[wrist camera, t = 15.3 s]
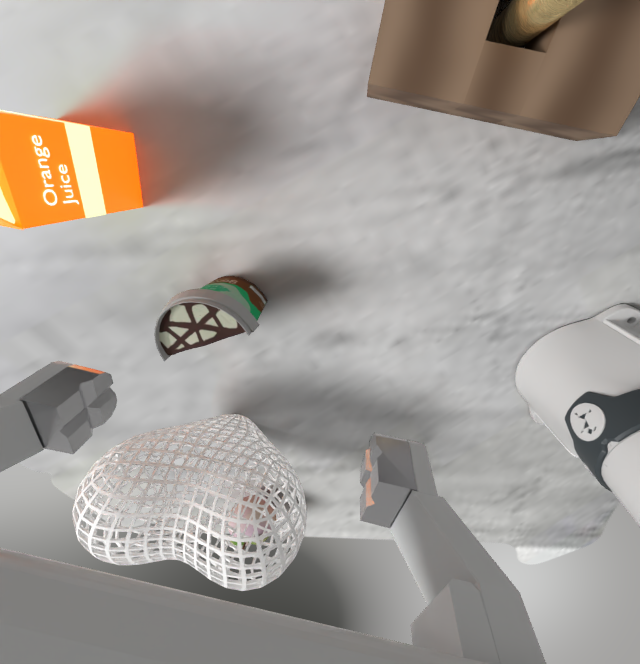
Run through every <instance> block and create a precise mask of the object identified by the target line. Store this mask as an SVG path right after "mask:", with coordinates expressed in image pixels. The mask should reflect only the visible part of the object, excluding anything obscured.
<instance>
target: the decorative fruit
mask: <svg viewBox="0 0 640 664" xmlns="http://www.w3.org/2000/svg"><path fill="white" fill-rule="evenodd" d="M249 497H250V496H248V497H244V498H243V501H248V499H249ZM263 497H264V496H263ZM254 498H255V495H254V496H252V498H251V500H250V502H251V503H253V501H254ZM259 498H260V497H257V500H256V503H255V504H257V502H258V500H259ZM265 498H266V497H265ZM266 499H267V498H266ZM265 503H266V501H264V500H263V499H261V501H260V503H259V504H260V505H264V504H265ZM238 505H239V504H238ZM238 505H237V507H236V509H235V511H234V513H236V514H237V513H238ZM234 506H235V505H234ZM244 507H245V505H242V507H241V514H242V512H243V510H244ZM233 508H234V507H233ZM233 508H232V510H233ZM257 508H258V509H260V510H261V511H263V510H264V508H261V507H257ZM232 510H231V512H232ZM267 510H268V512H269V514H271V513H272V512H273V511H274V509H273V508H272V507H271V506H270V505H269V506H268V507H267ZM251 514H252V508H249V507H247V508H246V510H245V512H244V514H243V517H244V518H246V519H248V520H249V518H250V516H251ZM260 515H261V513H259V512H258V511H256V510H255V517H256V520H257V519H259V517H260ZM229 517H230V514H229ZM232 518H236V519H237V517H235V516H233V515H232ZM262 518H265V516H264V515H263V516H262ZM272 519H273V520H274V521H276V514H275V515H274V516H273V517H272ZM251 520H253V517H252V519H251ZM266 523H267V521H263V522H260V523H259V525H260V526H262V527H264V528H265V526H266ZM236 524H237V523H234V522H230V521H229V523H228V525H229V526H231V527H233V528H235V526H236ZM256 524H257V523H256ZM273 524H274V523H273ZM246 525H247V524H241V523H240V529H241V533H243V531H244V529H245V527H246ZM267 529H270V530H271V527H270V524H268V527H267ZM228 530H229V529H228ZM236 530H237V529H236ZM253 531H254V528H253V525H251V524H249V525H248V527H247V530H246V532H245V535H247V536H249V537H251V536H252V534H253ZM257 531H258V536H260V535H262V534H263V531H264V530H262V529H260V528H257ZM229 532H230V534H232V532H233V531H231V530H229ZM266 533H267V531H266ZM233 536H234V537H237V534H236V533H234V535H233ZM254 537H255V535H254ZM267 538H269V536H268V537H266V538H264V539H263V542H264V541H266V540H267ZM230 542H231V543H232V544H234V545H236V546H237V542H235V541H230ZM241 543H242V545H243V548H242V549H243V550H244V547H245V546H246V545H248V543H249V542H241ZM251 544H255V545H257V544H256V543H255V542H251Z"/></svg>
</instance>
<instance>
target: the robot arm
mask: <svg viewBox="0 0 640 664" xmlns="http://www.w3.org/2000/svg"><path fill="white" fill-rule="evenodd" d="M629 318H630V319H629ZM628 319H629V320H628ZM515 382H516V387H517V389H518V392H519V393H520V395H521V396H522V397H523V398H524V399H525V400H526V402H527V403H528V404H529V410H530V415H531V417H532V418H533V419H534V421H535V422H536V423H538V424H544V425H546V426H547V427H548V429H549V430H550V431H551V432H552V433H553V434H554V435H555V437H556V438H557V439H558V440H559V441H560V442H561V443H562V444H563V446H564V447H565V448H566V449H567V450H568V451H569V452H570V453H571V454H572V455H573V456H575V457H577V458H579V457H580V459H581V460H582V461H583V463H584V465H585V467H586V468H587V469H588V471H589V472H590V473H591V474H592V475H593V476H594V477H595V478H596V479H597V480H598V481H599V482H600V484H601V485H602V486H604V487H605V488H606V489H608V490H609V491H611V492H613V493H614V495H615V496H616V497H617V498H618V500H619V501H620V502H621V504H622V505H623V506H624V507H625V508H626V510H627V511H628V513H629V514H630V515H631V516H632V518H633V519H634V520H635V521H636V523H637V524H638V525H639V527H640V310H638V309H636V308H634V307H632V306H629V305H627V304H619V305H616V306H613V307H611V308H609V309H607V310H605V311H604V312H602V313H600V314H598V315H597V316H595V317H593V318H590V319H587V320H584V321H580V322H576V323H573V324H569V325H566V326H564V327H561V328H559V329H557V330H554V331H552V332H551V333H549V334H547V335H545V336H544V337H542V338H541V339H540V340H538V341H537V342H536V343H535V344H534V345H532V346H531V347H530V348H529V349H528V351H527V352H526V353H525V354H524V356H523V357H522V359H521V360H520V362H519V364H518V367H517V370H516V375H515ZM112 384H113V380H112V376H111V374H109V373H106V372H102V371H99V370H95V369H91V368H87V367H83V366H79V365H74V364H70V363H66V362H62V361H56V362H52V363H50V364H48V365H47V366H45V367H43V368H42V369H40V370H39V371H37V372H35V373H34V374H32V375H31V376H29V377H27V378H26V379H24V380H23V381H21V382H19V383H18V384H16V385H15V386H13V387H11V388H10V389H8V390H7V391H5V392H3V393H2V394H0V472H1V471H3V470H5V469H7V468H9V467H11V466H13V465H15V464H17V463H19V462H21V461H23V460H25V459H27V458H29V457H31V456H33V455H35V454H37V453H39V452H41V451H42V450H44V449H43V448H45V449H50V450H55V451H60V452H65V453H70V454H74V453H75V452H76V451H77V450H78V449H79V448H80V447H81V446H82V445H83V444H84V443H85V442H86V441H87V440H88V439H89V438H90V437H91V436H92V433H93V428H96V427H98V426H100V425H103V424H104V423H105V422H106V421H107V420H108V419H109V418H110V417H111V416H112V414H113V412H114V410H115V408H116V403H117V398H116V394H115V393H114V391H113V390H112V389H111V388H110V386H111V385H112ZM369 444H370V449H368V450H366V451H365V454H364V457H363V460H362V465H361V474H360V483H361V485H362V486H363V488H364V490H363V492H362V494H361V497H360V521H364V522H368V523H372V524H376V525H380V526H383V527H387V528H390V532H391V534H392V536H393V538H394V540H395V541H396V544H397V546H398V548H399V550H400V551H401V553H402V555H403V557H404V559H405V561H406V563H407V565H408V567H409V569H410V571H411V573H412V575H413V577H414V579H415V581H416V583H417V585H418V587H419V589H420V591H421V593H422V595H423V597H424V599H425V601H426V603H427V605H428V606H427V607H426V608H425V610H424V611H423V612H422V613H421V614H420V615H419V616H418V617H417V618H416V619H415V620H414V622H413V623H412V624H411V633H412V642H413V645H409V644H405V643H401V642H397V641H393V640H388V639H384V638H380V637H376V636H371V635H367V634H363V633H359V632H354V631H350V630H346V629H342V628H338V627H333V626H329V625H325V624H321V623H317V622H312V621H308V620H304V619H300V618H295V617H291V616H287V615H283V614H278V613H274V612H270V611H266V610H261V609H257V608H253V607H249V606H245V605H241V604H236V603H232V602H227V601H224V600H219V599H215V598H211V597H207V596H203V595H198V594H194V593H190V592H186V591H181V590H177V589H173V588H169V587H165V586H160V585H156V584H151V583H148V582H143V581H139V580H134V579H131V578H127V577H122V576H118V575H114V574H109V573H105V572H101V571H97V570H93V569H88V568H84V567H80V566H76V565H72V564H67V563H63V562H59V561H55V560H50V559H46V558H42V557H38V556H34V555H29V554H25V553H20V552H17V551H12V550H8V549H3V548H0V664H546V662H545V659H544V657H543V654H542V652H541V649H540V646H539V643H538V641H537V638H536V635H535V633H534V630H533V628H532V624H531V622H530V620H529V616H528V614H527V611H526V608H525V606H524V603H523V600H522V598H521V595H520V593H519V591H518V590H517V589H516V587H515V586H514V585H513V584H512V582H511V581H510V580H509V579H508V577H507V576H506V575H505V574H504V572H503V571H502V570H501V569H500V567H499V566H498V565H497V564H496V562H494V560H493V559H492V558H491V556H490V555H489V554H488V553H487V551H486V550H485V549H484V548H483V546H482V545H481V544H480V543H479V541H478V540H477V539H476V538H475V536H474V535H473V534H472V533H471V531H470V530H469V529H468V528H467V526H466V525H465V524H464V523H463V521H462V520H461V519H460V518H459V516H458V515H457V514H456V513H455V511H454V510H453V509H452V508H451V506H450V505H449V504H448V503H447V502H446V500H445V499H444V498H443V497H440V496H438V494H437V490H436V486H435V482H434V478H433V474H432V470H431V465H430V461H429V457H428V453H427V449H426V446H425V445H424V443H419V442H415V441H410V440H405V439H401V438H396V437H392V436H387V435H383V434H378V433H373V434H372V436H371V438H370V441H369Z"/></svg>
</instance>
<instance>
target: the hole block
mask: <svg viewBox="0 0 640 664" xmlns="http://www.w3.org/2000/svg"><path fill="white" fill-rule="evenodd" d="M498 2H499V0H385V4H384V9H383V14H382V19H381V24H380V28H379V33H378V38H377V43H376V48H375V52H374V57H373V62H372V67H371V72H370V77H369V81H368V90H367V97H371V98H375V99H380V100H385V101H390V102H394V103H399V104H404V105H409V106H413V107H418V108H423V109H427V110H432V111H437V112H442V113H446V114H451V115H456V116H461V117H465V118H470V119H475V120H480V121H484V122H489V123H494V124H498V125H503V126H508V127H513V128H517V129H522V130H527V131H532V132H536V133H541V134H546V135H551V136H555V137H560V138H565V139H569V140H574V141H580V140H588V139H596V138H604V137H612V136H617V134H618V133H619V131H620V129H621V128H622V126H623V124H624V122H625V121H626V119H627V117H628V115H629V114H630V112H631V110H632V108H633V107H634V105H635V103H636V102H637V100H638V98H639V96H640V0H584V1H583V2H581V3H580V4H579V5H577V6H576V7H575V8H573V9H572V10H571V11H569V12H568V13H567V14H565V15H564V16H563V17H561V18H560V19H559V20H557V21H556V22H554V23H553V24H552V25H550V26H549V27H548V28H546V29H545V30H544V31H542V32H541V33H540V34H538V35H537V36H536V37H534V38H533V39H532V40H530V41H529V42H528V43H527V44H526V46H525V49H524V48H519V47H514V46H509V45H504V44H500V43H495V42H490V41H485V40H486V37H487V34H488V31H489V28H490V25H491V23H492V20H493V17H494V14H495V11H496V8H497V5H498Z"/></svg>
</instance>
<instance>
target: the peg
mask: <svg viewBox="0 0 640 664" xmlns="http://www.w3.org/2000/svg"><path fill="white" fill-rule="evenodd" d="M583 1H584V0H512V1H511V2H510V3H509V4H508V5H507V7H506V8H505V9H504V10H503V11H502V12H501V13H500V14H499V15H498V16H497V18H496V19H495V20H494V21H493V22H492V24H491V25H490V28H489V31H488V34H487V37H486V41H490V42H495V43H500V44H504V45H509V46H514V47H519V48H521V47H522V46H524V45H525V44H526V43H528V42H529V41H530V40H532V39H533V38H534V37H536V36H537V35H538V34H540V33H541V32H542V31H544V30H545V29H546V28H548V27H549V26H550V25H552V24H553V23H554V22H556V21H557V20H559V19H560V18H561V17H563V16H564V15H565V14H567V13H568V12H569V11H571V10H572V9H573V8H575V7H576V6H577V5H579V4H580V3H581V2H583Z"/></svg>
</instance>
